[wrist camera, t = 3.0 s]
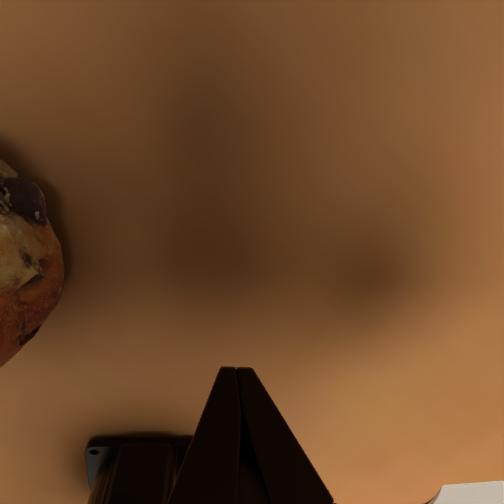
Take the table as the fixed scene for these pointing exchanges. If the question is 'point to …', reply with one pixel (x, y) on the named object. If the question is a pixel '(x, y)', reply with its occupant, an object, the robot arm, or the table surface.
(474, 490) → the kitchen cleaver
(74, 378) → the table surface
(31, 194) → the bread roll
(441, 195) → the table surface
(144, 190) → the table surface
